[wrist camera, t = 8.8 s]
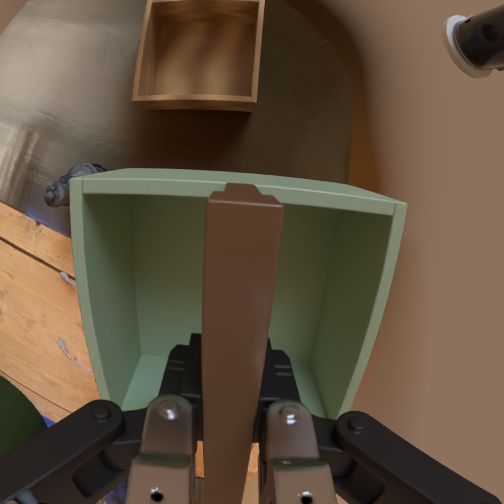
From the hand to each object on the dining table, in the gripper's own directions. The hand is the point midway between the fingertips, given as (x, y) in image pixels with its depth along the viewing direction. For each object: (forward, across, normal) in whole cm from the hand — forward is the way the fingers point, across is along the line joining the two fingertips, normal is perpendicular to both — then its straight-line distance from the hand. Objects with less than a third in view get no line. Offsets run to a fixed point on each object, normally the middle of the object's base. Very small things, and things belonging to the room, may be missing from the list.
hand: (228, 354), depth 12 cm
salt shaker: (+29, +19, -3) cm, 34 cm away
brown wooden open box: (+28, +5, -20) cm, 35 cm away
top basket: (+8, 0, 0) cm, 8 cm away
